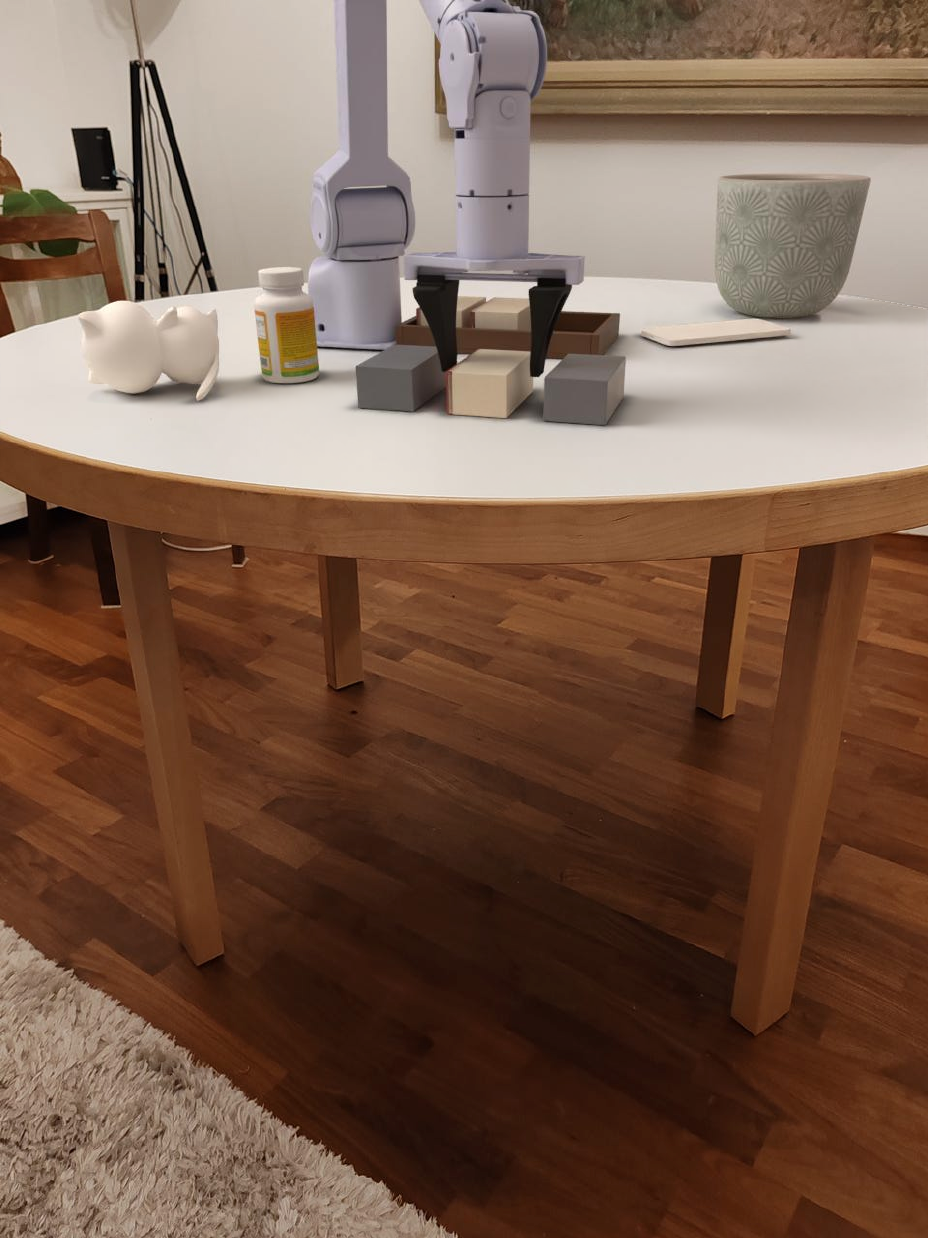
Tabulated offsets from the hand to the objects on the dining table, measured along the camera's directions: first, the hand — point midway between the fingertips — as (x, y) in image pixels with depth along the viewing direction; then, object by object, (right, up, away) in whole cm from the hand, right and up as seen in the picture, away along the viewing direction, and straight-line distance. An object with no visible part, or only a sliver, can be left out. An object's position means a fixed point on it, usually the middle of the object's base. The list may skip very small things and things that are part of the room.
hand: (492, 371), depth 80 cm
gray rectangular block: (-8, -1, +3) cm, 8 cm away
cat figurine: (-30, 0, +6) cm, 30 cm away
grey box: (+8, -3, -1) cm, 8 cm away
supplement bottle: (-19, +2, +10) cm, 22 cm away
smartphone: (+25, +10, +25) cm, 37 cm away
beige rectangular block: (0, -2, +1) cm, 3 cm away
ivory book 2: (+2, +10, +23) cm, 25 cm away
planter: (+36, +17, +38) cm, 55 cm away
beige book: (-4, +11, +25) cm, 27 cm away
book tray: (+3, +9, +23) cm, 25 cm away
